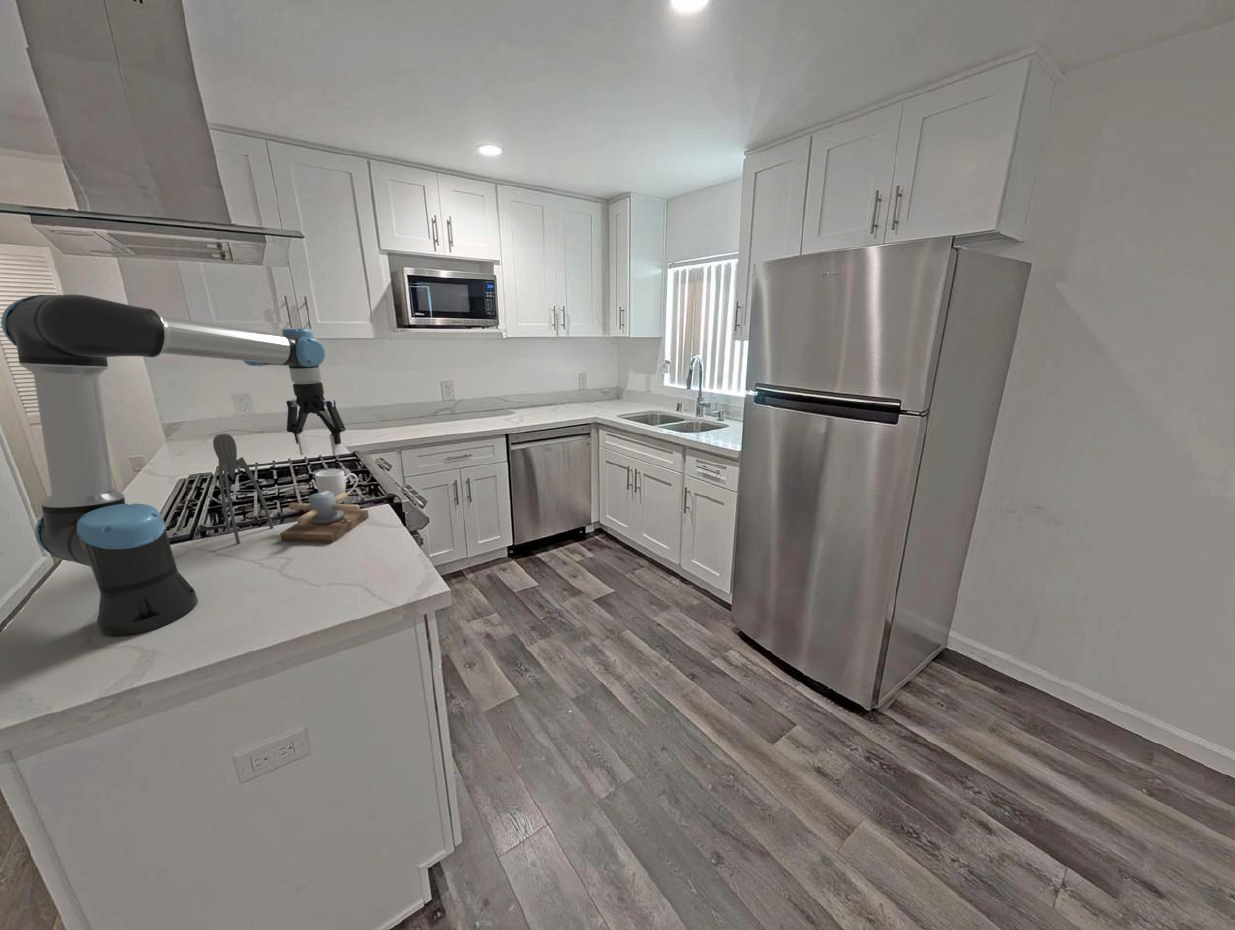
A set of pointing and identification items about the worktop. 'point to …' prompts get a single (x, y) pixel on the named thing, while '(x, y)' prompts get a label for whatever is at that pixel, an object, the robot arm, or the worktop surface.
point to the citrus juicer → (232, 476)
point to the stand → (324, 529)
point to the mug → (333, 481)
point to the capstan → (324, 508)
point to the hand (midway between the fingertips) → (320, 454)
